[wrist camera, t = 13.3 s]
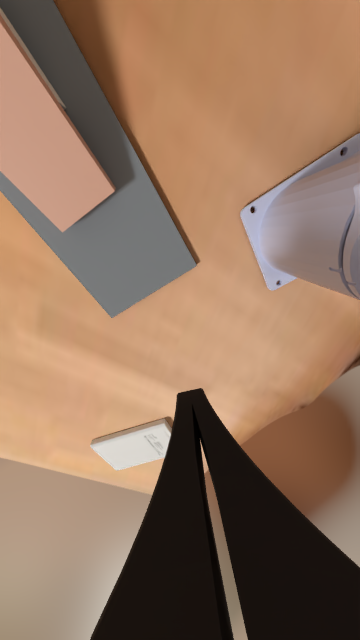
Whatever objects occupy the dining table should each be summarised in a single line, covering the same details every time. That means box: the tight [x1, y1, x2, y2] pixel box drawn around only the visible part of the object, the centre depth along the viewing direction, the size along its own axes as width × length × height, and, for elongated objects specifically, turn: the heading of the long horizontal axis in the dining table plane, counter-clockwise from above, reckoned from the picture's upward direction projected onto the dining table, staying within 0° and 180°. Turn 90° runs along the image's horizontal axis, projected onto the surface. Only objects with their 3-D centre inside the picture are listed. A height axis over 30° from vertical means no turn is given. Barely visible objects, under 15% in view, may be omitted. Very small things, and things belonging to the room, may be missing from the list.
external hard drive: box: [91, 418, 172, 470], centre depth 28 cm, size 2×8×12 cm
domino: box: [0, 15, 116, 233], centre depth 10 cm, size 5×2×9 cm
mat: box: [0, 0, 197, 318], centre depth 11 cm, size 10×32×1 cm, turn 31°
